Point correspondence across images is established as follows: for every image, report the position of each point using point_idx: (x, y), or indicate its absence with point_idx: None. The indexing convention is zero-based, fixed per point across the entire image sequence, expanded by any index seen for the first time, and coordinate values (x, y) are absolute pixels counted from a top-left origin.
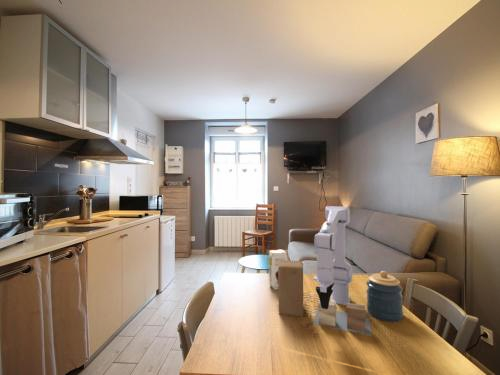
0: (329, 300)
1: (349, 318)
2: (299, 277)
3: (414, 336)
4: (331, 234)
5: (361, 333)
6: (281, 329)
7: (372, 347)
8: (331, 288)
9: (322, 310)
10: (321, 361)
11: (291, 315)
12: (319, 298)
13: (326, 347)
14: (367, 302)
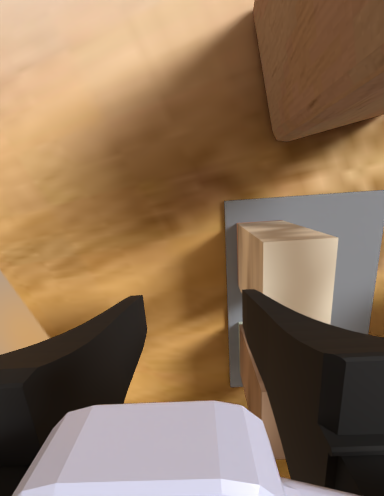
0: (245, 335)
1: (248, 359)
2: None
3: (282, 470)
4: None
5: (234, 361)
6: (132, 75)
7: (178, 383)
8: (284, 445)
9: (251, 255)
10: (37, 266)
11: (264, 81)
12: (79, 326)
13: (110, 270)
14: None
